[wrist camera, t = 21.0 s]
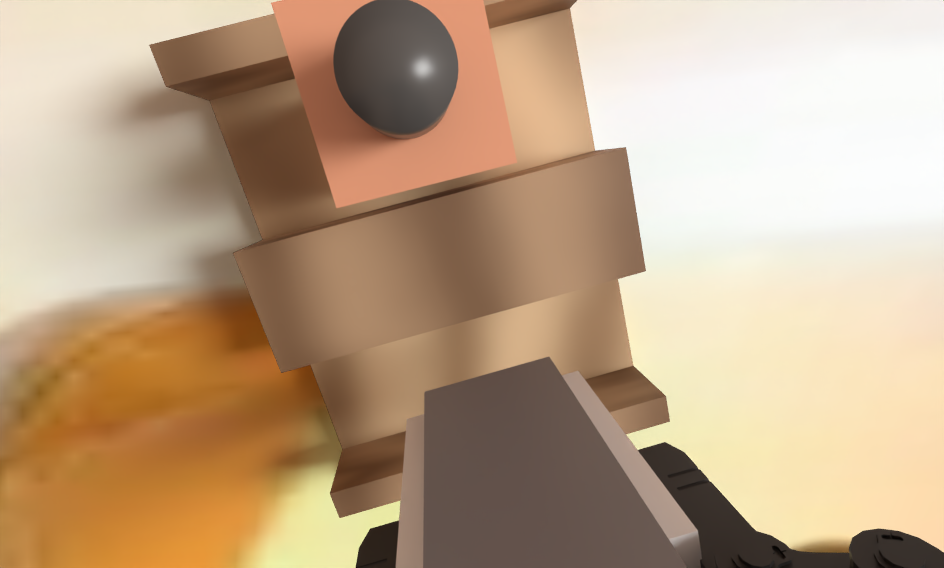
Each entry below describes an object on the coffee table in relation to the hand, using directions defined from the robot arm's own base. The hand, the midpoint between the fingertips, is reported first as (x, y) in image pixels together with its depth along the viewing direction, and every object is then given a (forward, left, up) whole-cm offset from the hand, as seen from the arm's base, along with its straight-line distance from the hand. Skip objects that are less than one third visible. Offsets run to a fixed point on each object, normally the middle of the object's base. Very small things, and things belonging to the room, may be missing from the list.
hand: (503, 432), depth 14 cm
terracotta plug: (0, +10, -6) cm, 12 cm away
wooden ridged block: (0, +5, -7) cm, 9 cm away
